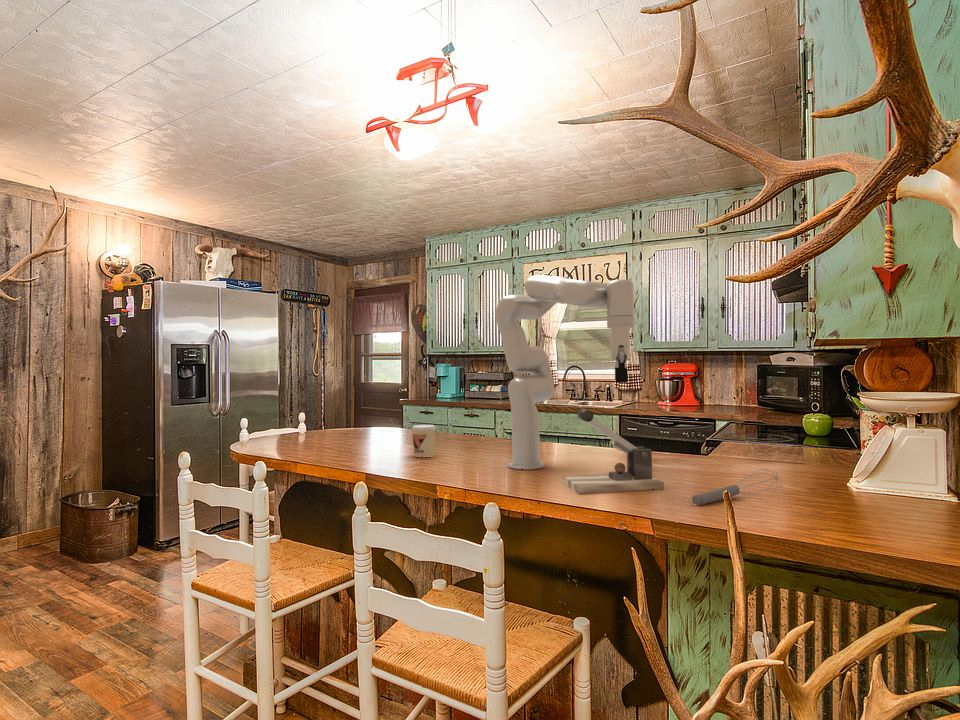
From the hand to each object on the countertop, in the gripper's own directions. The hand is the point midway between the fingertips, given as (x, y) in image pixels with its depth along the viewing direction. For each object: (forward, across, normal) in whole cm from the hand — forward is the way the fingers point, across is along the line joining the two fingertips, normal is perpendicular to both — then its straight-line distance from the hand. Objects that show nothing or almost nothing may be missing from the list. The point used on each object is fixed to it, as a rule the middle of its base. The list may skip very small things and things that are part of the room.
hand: (621, 381), depth 158 cm
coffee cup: (+32, -40, -74) cm, 90 cm away
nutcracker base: (+30, +1, -3) cm, 30 cm away
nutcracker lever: (+17, +2, -4) cm, 18 cm away
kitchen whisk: (+30, +10, +29) cm, 43 cm away
